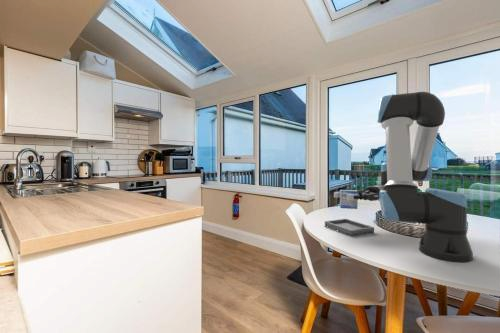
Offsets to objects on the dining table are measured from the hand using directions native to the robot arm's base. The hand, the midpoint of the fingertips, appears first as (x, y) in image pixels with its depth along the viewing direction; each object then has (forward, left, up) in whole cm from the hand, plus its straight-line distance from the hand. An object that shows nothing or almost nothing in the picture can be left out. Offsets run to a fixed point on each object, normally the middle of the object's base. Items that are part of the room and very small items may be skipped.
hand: (340, 196), depth 116 cm
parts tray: (0, -5, -17) cm, 17 cm away
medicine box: (0, -5, -6) cm, 8 cm away
